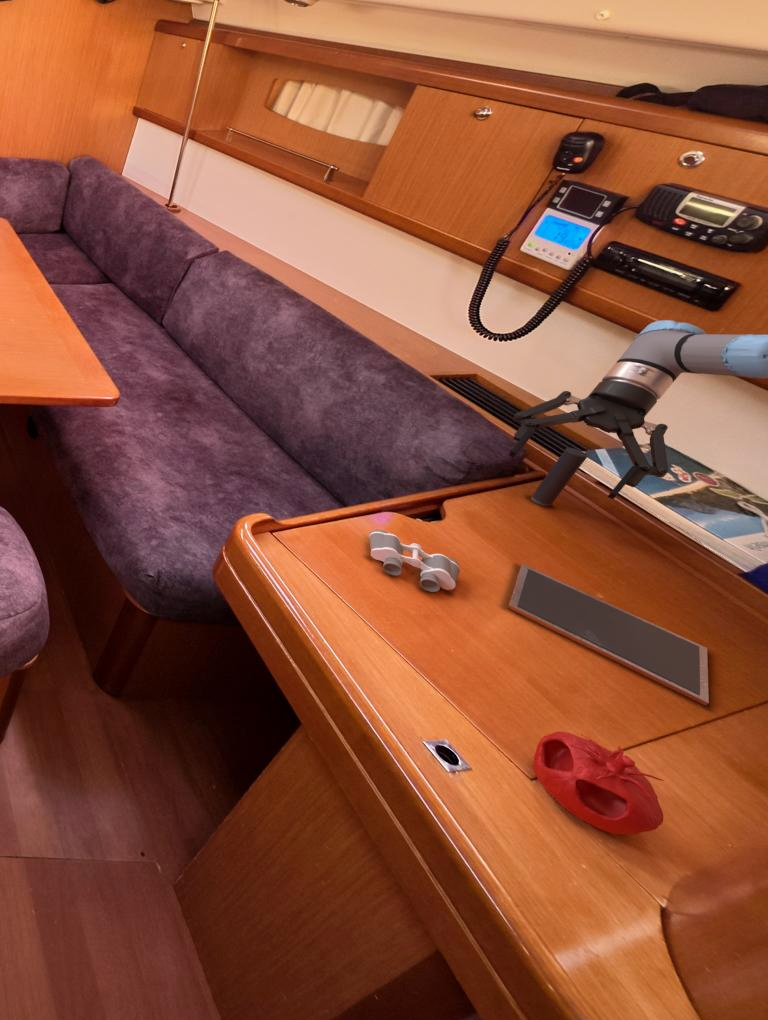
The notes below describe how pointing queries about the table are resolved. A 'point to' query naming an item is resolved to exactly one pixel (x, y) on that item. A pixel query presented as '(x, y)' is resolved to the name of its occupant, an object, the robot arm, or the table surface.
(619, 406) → the robot arm
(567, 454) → the dark gray cylinder
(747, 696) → the table surface
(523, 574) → the tablet
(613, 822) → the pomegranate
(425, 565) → the binoculars
